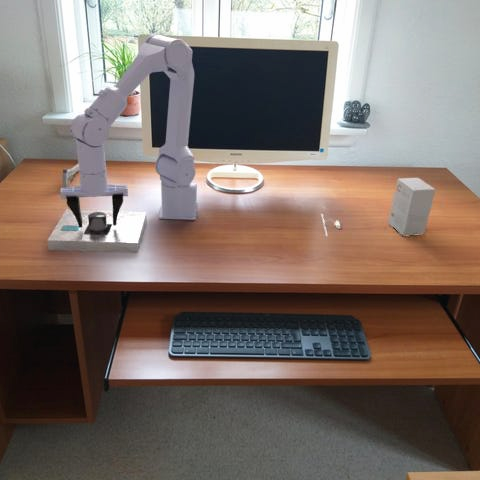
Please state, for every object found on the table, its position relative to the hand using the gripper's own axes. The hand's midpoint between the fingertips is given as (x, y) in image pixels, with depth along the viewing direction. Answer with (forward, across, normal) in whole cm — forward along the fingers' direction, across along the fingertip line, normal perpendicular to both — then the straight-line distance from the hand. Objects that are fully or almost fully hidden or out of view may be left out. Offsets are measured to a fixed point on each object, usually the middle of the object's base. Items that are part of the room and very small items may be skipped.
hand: (97, 224), depth 118 cm
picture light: (+4, -59, +1) cm, 59 cm away
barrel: (+4, 0, 0) cm, 4 cm away
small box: (+4, -78, +6) cm, 79 cm away
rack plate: (+4, 0, -2) cm, 4 cm away
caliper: (+4, +7, -39) cm, 40 cm away
